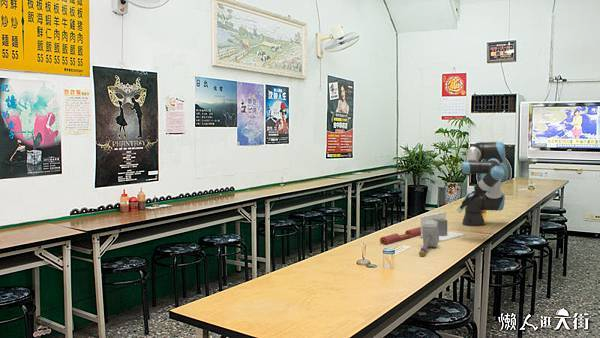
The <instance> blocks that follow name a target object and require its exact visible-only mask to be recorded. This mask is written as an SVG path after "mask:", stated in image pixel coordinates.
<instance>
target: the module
mask: <svg viewBox="0 0 600 338" xmlns="http://www.w3.org/2000/svg"><path fill="white" fill-rule="evenodd" d="M434 221H437V222H438V228H439V236H446V235H447V231H448V220H447V219H446V220H444V219H443V218H440V219H435V220H434Z"/></svg>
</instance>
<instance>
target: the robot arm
mask: <svg viewBox="0 0 600 338" xmlns="http://www.w3.org/2000/svg"><path fill="white" fill-rule="evenodd" d="M505 148H506V147H505V144H504V142H502V141H494V142H492V141H486V142H485V141H484V142H483V141H481V142H479V141H478V142H476V143H474V144H471V145H470V146H468V148H466V150H465V156H466V157H465V158H466V159H465V160H466V161H462V163H461V171H462V174H467V175H472V174H473V175H481V174H483V175H484V176H483V177H482V178H481V180H479V181H478V182H477V183H476V185H474V187H473V189H474V190H473V191H471V192H468V193H466V194H465V195H464V199H463V201H462V202H461V204H460V206H459V207H457V209H456V212H458V214H460V213H462V212H463V211H464V215H463V219H462V225H463V226H469V227H481V226H485V219H484V217H483V211H495V212H497V211H498V212H499V211H500V212H501V211H502V210H504V207H505V200H506V199H505V198H506V196H505V194H503V191H501V186H502V185H501V180H502V178H503V177H504V176H505V174H506V172H505V171H504V169H503V168H502V163H504V160H506V149H505ZM480 160H484V161H480Z"/></svg>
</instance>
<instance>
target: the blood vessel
mask: <svg viewBox="0 0 600 338" xmlns="http://www.w3.org/2000/svg"><path fill="white" fill-rule="evenodd" d="M417 236H421V226H418V227H415V228H411V229H408V230H405V232H404V233H403V234H399V233H392V234H390V235H386V236H381V237H380V239H379V243H380V245H382V244H383V245H384V246H386V245H389V244H393V243H396V242H397V243H398V242H399V241H403V240H406V239H410V238H414V237H417Z"/></svg>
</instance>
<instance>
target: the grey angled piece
mask: <svg viewBox="0 0 600 338" xmlns="http://www.w3.org/2000/svg"><path fill="white" fill-rule="evenodd" d="M422 230H423V238H422V242H423V243H422V244H423V245H422V247H421V248H420V251H419V253H418V255H419V256H420V257H425V256H426V252H427V249H428V248H437V247H438V244H439V242H440V241H439V228H438V222H437V221H434V220H426V221H425V222H424V224H423V226H422Z"/></svg>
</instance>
